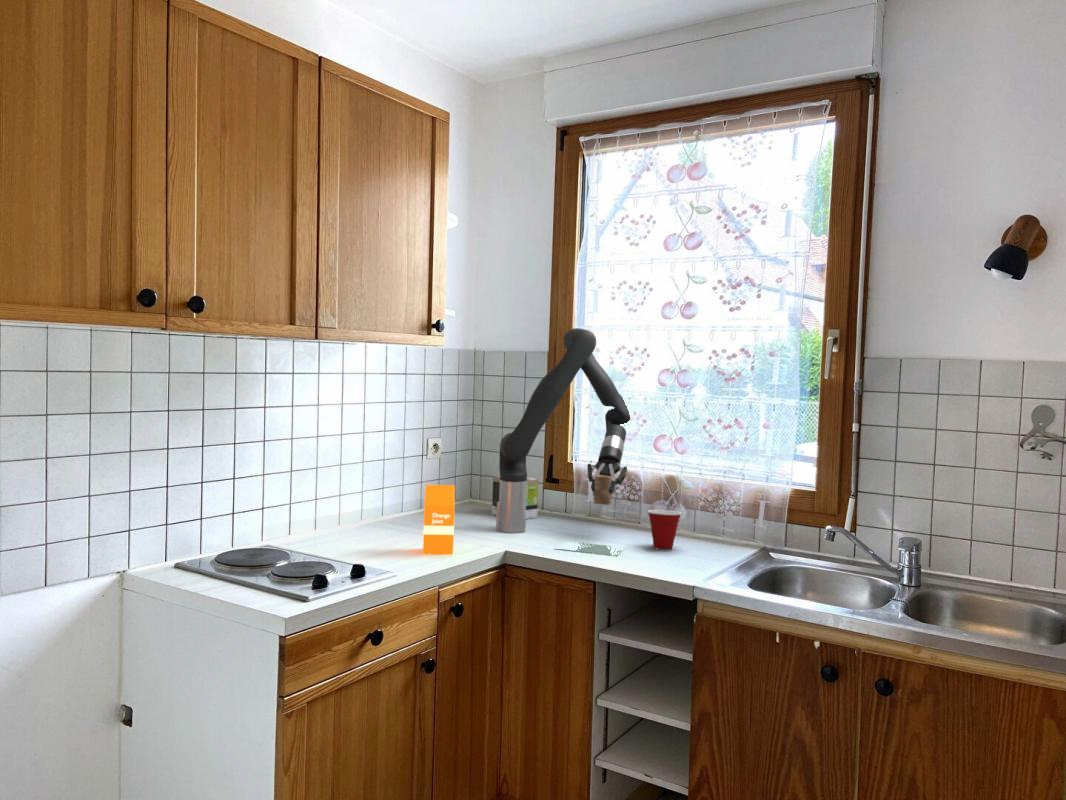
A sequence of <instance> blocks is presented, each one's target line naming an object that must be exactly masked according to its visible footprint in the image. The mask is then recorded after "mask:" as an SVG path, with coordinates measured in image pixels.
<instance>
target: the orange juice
mask: <svg viewBox="0 0 1066 800" xmlns="http://www.w3.org/2000/svg"><path fill="white" fill-rule="evenodd" d="M455 490H456V485H452V484H450V485H449V484H443V485H442V484H426V485H425V491H424V508H423V509H424V512H423V515H424V516H423V540H422V541H423V544H422V545H423V546H422V555H423V554H429V553H430V554H453V555H454V532H455V501H456V500H455V498H456V497H455V495H456V493H455V492H456V491H455Z"/></svg>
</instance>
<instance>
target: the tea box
mask: <svg viewBox="0 0 1066 800" xmlns="http://www.w3.org/2000/svg"><path fill="white" fill-rule="evenodd" d="M492 477H493V479H492V500H491V502H492V503H491V506H492V507H491V514H492V515H494V516H497V502H499V491H500V475H495V476H492ZM538 499H539V478H533V477H528V476H527V492H526V519H525V520H530V518H531V519H535V518H536V517H538V505H539V504H538V503H539V502H538V501H539V500H538Z"/></svg>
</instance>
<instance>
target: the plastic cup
mask: <svg viewBox="0 0 1066 800" xmlns="http://www.w3.org/2000/svg"><path fill="white" fill-rule="evenodd" d="M646 512H647V513H648V516H649V520H650V521H649V522H650V528H651V529H650V530H651V537H652V542H653V544H652V545H653V548H654V547H655V548H654V549H656V548H658V549H657V550H659V549H671V550H672V549H673V547H674V542H675V538H676V534H677V529H678V526H679V525H678V524H679V522H680V518H681V516H682V513H683V512H681V511H677V510H667V509H666V510H665V509H649V510H647V511H646Z"/></svg>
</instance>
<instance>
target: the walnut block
mask: <svg viewBox="0 0 1066 800" xmlns="http://www.w3.org/2000/svg"><path fill="white" fill-rule="evenodd" d="M611 481H612V476H605V475H597V476H595V491H594V492H593V504H596V505H606V506H609V505H611V504H612V500H613V499H612V496H613V493H612V494H610V493H609V488H610V483H611Z"/></svg>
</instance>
